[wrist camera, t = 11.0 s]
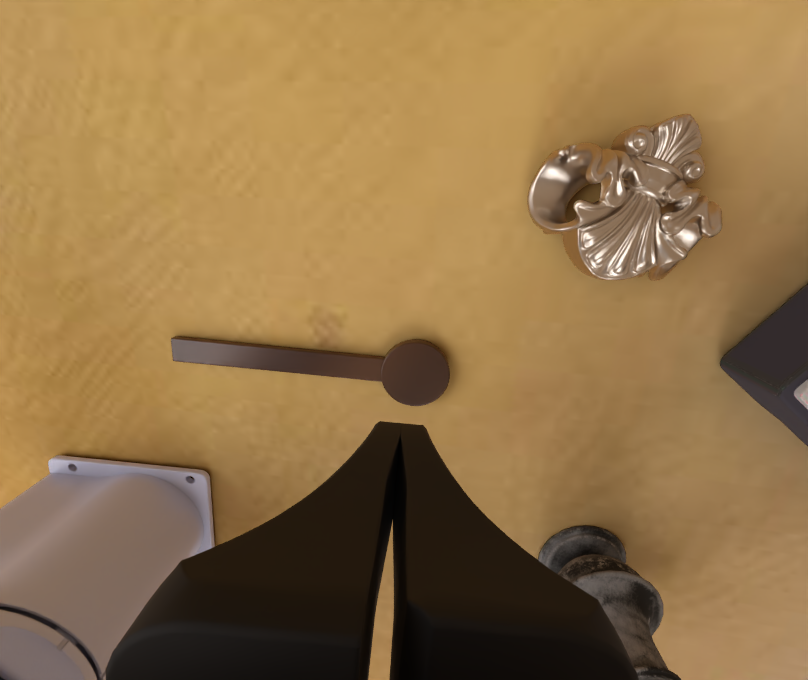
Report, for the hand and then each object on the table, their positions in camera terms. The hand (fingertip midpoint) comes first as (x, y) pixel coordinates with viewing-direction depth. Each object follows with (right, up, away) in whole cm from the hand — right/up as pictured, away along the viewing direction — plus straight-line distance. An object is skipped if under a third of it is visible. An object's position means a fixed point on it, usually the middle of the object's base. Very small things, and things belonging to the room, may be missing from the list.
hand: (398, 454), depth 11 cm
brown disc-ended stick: (-5, +2, +10) cm, 12 cm away
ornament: (+10, +10, +8) cm, 16 cm away
